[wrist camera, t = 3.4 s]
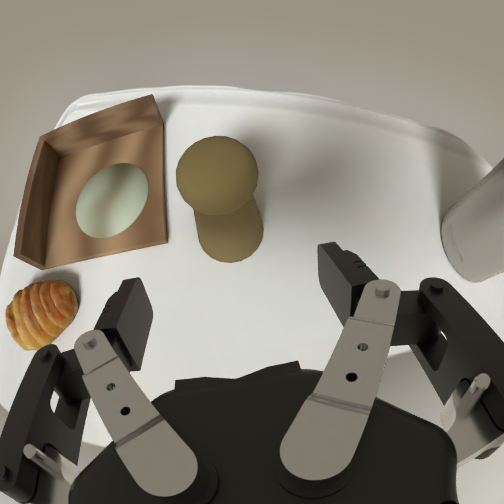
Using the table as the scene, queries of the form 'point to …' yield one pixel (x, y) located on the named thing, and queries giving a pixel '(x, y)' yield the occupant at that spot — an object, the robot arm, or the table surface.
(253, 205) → the cork
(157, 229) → the corner tray
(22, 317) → the pastry
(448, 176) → the table surface
